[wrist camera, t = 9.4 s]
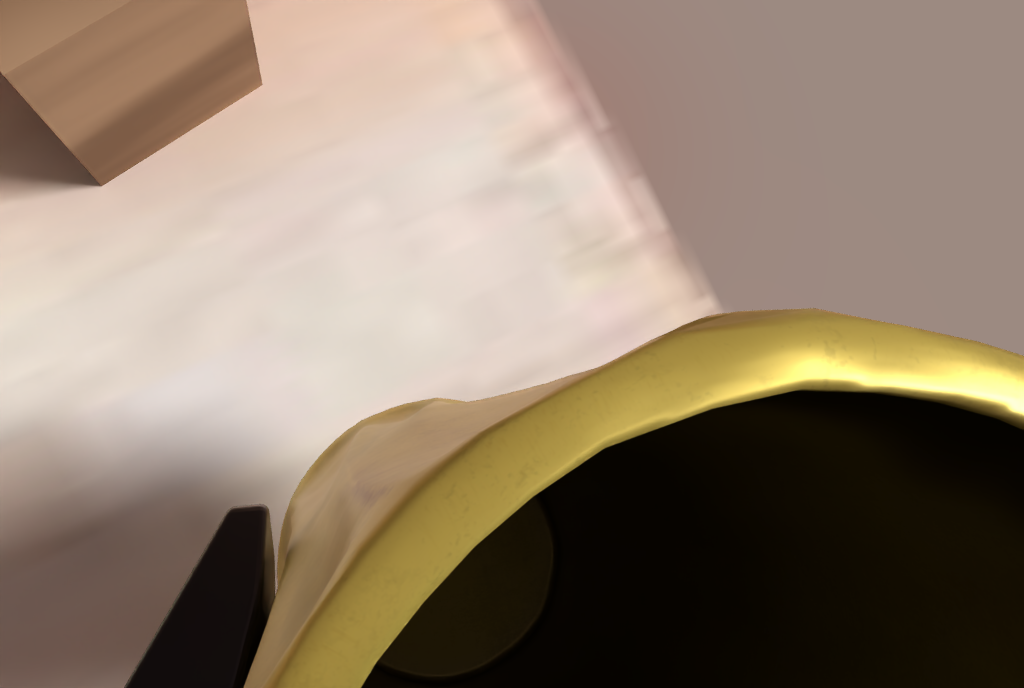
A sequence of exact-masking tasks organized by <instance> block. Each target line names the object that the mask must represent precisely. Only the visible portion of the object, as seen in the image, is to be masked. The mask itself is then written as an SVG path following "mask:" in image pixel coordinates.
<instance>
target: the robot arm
mask: <svg viewBox="0 0 1024 688" xmlns="http://www.w3.org/2000/svg"><path fill="white" fill-rule="evenodd" d="M274 599H275V561H274V549H273V540H272V532H271V523H270V515H269V510H268V508H267V506H265V505H262V504H259V505H246V506H236V507H232V508H231V509H229V510H228V512H227V513H226V514H225V516H224V518H223V519H222V521H221V523H220V524H219V526H218V528H217V530H216V531H215V533H214V535H213V536H212V538H211V540H210V542H209V543H208V545H207V547H206V548H205V550H204V552H203V554H202V555H201V557H200V559H199V560H198V562H197V564H196V566H195V567H194V569H193V571H192V572H191V574H190V576H189V577H188V579H187V581H186V583H185V584H184V586H183V588H182V589H181V591H180V593H179V595H178V596H177V598H176V600H175V601H174V603H173V605H172V607H171V608H170V610H169V612H168V613H167V615H166V617H165V619H164V620H163V622H162V624H161V625H160V627H159V629H158V630H157V632H156V634H155V636H154V637H153V639H152V641H151V642H150V644H149V646H148V648H147V649H146V651H145V653H144V654H143V656H142V658H141V660H140V661H139V663H138V665H137V666H136V668H135V670H134V672H133V673H132V675H131V677H130V678H129V680H128V682H127V684H126V685H125V687H124V688H244V685H245V682H246V680H247V677H248V674H249V671H250V668H251V666H252V663H253V661H254V658H255V656H256V653H257V650H258V647H259V645H260V642H261V639H262V636H263V633H264V630H265V627H266V625H267V622H268V618H269V615H270V612H271V608H272V605H273V602H274Z"/></svg>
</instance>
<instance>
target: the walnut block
mask: <svg viewBox="0 0 1024 688" xmlns="http://www.w3.org/2000/svg"><path fill="white" fill-rule="evenodd" d="M0 72H1V73H2V75H3V76H4V77H5V78H6V79H7V80H8V81H9V82H10V84H11V85H12V86H13V87H14V88H15V89H16V90H17V92H18V93H19V94H20V95H21V96H22V97H23V98H24V99H25V101H26V102H27V103H28V104H29V105H30V106H31V107H32V108H33V110H34V111H35V112H36V113H37V114H38V115H39V116H40V117H41V119H42V120H43V121H44V122H45V123H46V124H47V125H48V126H49V128H50V129H51V130H52V131H53V132H54V133H55V134H56V135H57V137H58V138H59V139H60V140H61V141H62V142H63V143H64V144H65V146H66V147H67V148H68V149H69V150H70V151H71V152H72V153H73V155H74V156H75V157H76V158H77V159H78V160H79V161H80V163H81V164H82V165H83V166H84V167H85V168H86V169H87V170H88V172H89V173H90V174H91V175H92V176H93V177H94V178H95V179H96V181H97V182H98V183H99V184H100V185H101V186H103V185H104V184H106V183H107V182H109V181H111V180H112V179H114V178H115V177H117V176H119V175H120V174H122V173H123V172H125V171H127V170H128V169H130V168H131V167H133V166H134V165H136V164H138V163H139V162H141V161H142V160H144V159H146V158H147V157H149V156H150V155H152V154H153V153H155V152H157V151H158V150H160V149H161V148H163V147H165V146H166V145H168V144H169V143H171V142H173V141H174V140H176V139H177V138H179V137H180V136H182V135H184V134H185V133H187V132H188V131H190V130H192V129H193V128H195V127H196V126H198V125H199V124H201V123H203V122H204V121H206V120H207V119H209V118H211V117H212V116H214V115H215V114H217V113H219V112H220V111H222V110H223V109H225V108H226V107H228V106H230V105H231V104H233V103H234V102H236V101H238V100H239V99H241V98H242V97H244V96H245V95H247V94H249V93H250V92H252V91H253V90H255V89H257V88H258V87H260V86H261V85H262V80H261V75H260V70H259V64H258V59H257V54H256V49H255V43H254V38H253V33H252V28H251V23H250V17H249V12H248V7H247V2H246V0H0Z"/></svg>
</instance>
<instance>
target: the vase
mask: <svg viewBox="0 0 1024 688" xmlns="http://www.w3.org/2000/svg"><path fill="white" fill-rule="evenodd" d="M277 579H278V589H277V592H276V596H275V599H274V602H273V605H272V608H271V612H270V615H269V618H268V622H267V625H266V627H265V630H264V633H263V636H262V639H261V642H260V645H259V647H258V650H257V653H256V656H255V658H254V661H253V663H252V666H251V668H250V671H249V674H248V677H247V680H246V682H245V685H244V688H1024V356H1022V355H1019V354H1016V353H1013V352H1010V351H1007V350H1003V349H1000V348H997V347H993V346H990V345H987V344H984V343H981V342H977V341H973V340H968V339H963V338H959V337H954V336H950V335H945V334H940V333H936V332H931V331H927V330H922V329H917V328H912V327H908V326H903V325H898V324H892V323H886V322H880V321H876V320H871V319H866V318H860V317H856V316H851V315H846V314H840V313H835V312H830V311H826V310H820V309H816V308H813V309H811V308H810V309H783V310H757V311H738V312H731V313H722V314H715V315H711V316H707V317H704V318H701V319H698V320H696V321H693V322H691V323H688V324H685V325H682V326H681V327H679V328H677V329H675V330H673V331H671V332H669V333H666V334H664V335H662V336H660V337H657V338H655V339H653V340H650V341H648V342H647V343H645V344H643V345H641V346H639V347H637V348H635V349H634V350H632V351H630V352H628V353H626V354H624V355H622V356H620V357H619V358H617V359H615V360H613V361H611V362H609V363H607V364H605V365H603V366H601V367H598V368H595V369H591V370H588V371H585V372H581V373H577V374H574V375H570V376H567V377H564V378H561V379H558V380H555V381H552V382H549V383H546V384H542V385H538V386H534V387H531V388H527V389H524V390H519V391H515V392H511V393H507V394H503V395H499V396H495V397H491V398H487V399H482V400H476V401H470V402H464V401H458V400H451V399H443V398H433V399H428V400H422V401H417V402H412V403H407V404H403V405H400V406H397V407H394V408H390V409H388V410H386V411H383V412H381V413H378V414H375V415H373V416H371V417H368V418H366V419H364V420H361V421H360V422H359V423H357V424H356V425H354V426H353V427H351V428H350V429H348V430H347V431H346V432H344V433H343V434H342V435H341V436H340V437H338V438H337V439H336V440H335V441H334V442H333V443H332V444H331V445H330V446H329V447H328V448H327V449H326V450H325V451H324V452H323V453H322V454H321V455H320V457H319V458H318V459H317V460H316V461H315V462H314V464H313V465H312V466H311V467H310V469H309V470H308V471H307V473H306V474H305V476H304V477H303V479H302V480H301V482H300V483H299V485H298V487H297V489H296V490H295V492H294V494H293V496H292V498H291V500H290V503H289V506H288V509H287V511H286V514H285V518H284V522H283V526H282V530H281V535H280V542H279V550H278V562H277Z"/></svg>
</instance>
